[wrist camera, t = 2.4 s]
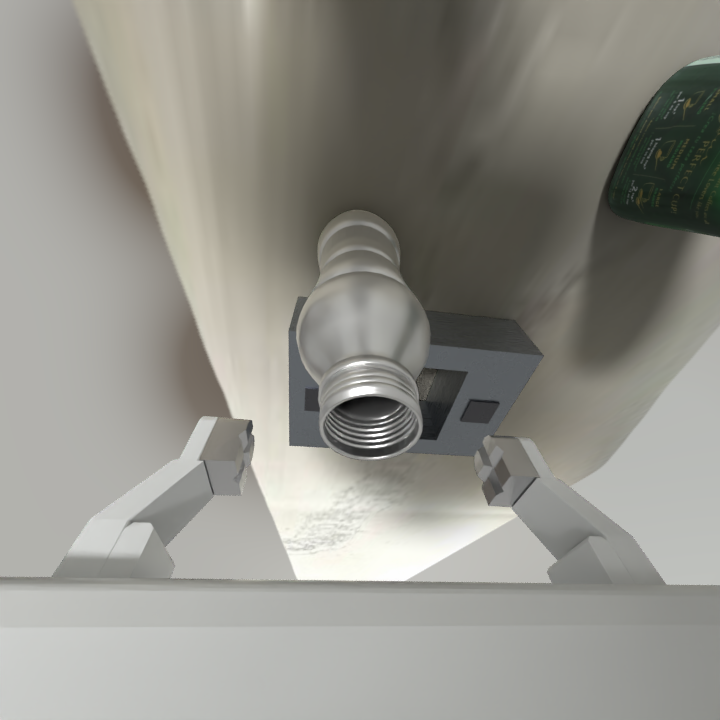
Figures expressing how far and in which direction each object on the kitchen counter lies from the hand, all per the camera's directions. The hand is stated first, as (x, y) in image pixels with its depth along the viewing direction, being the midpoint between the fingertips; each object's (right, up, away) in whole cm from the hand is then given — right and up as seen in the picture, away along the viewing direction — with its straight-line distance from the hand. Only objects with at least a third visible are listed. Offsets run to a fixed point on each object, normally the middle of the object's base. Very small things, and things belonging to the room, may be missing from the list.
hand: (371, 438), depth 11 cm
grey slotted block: (+4, +2, +24) cm, 24 cm away
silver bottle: (-1, +13, +16) cm, 20 cm away
